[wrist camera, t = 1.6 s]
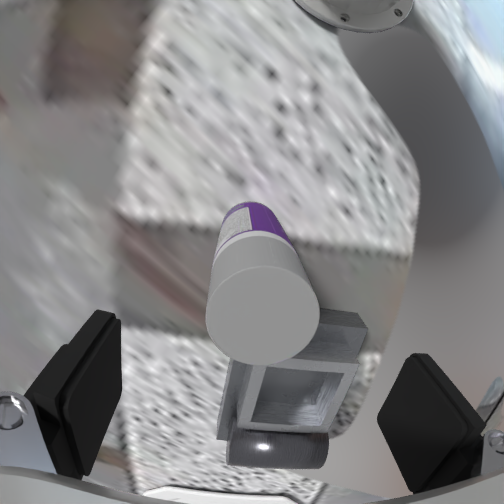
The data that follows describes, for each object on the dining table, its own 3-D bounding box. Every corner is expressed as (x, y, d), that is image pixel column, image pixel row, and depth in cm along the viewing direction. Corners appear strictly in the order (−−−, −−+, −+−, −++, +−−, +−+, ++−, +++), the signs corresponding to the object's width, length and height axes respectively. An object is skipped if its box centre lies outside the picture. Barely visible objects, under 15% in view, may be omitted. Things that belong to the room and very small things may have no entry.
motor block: (242, 296, 28) (244, 347, 21) (357, 313, 29) (389, 361, 22) (217, 420, 33) (214, 475, 25) (310, 427, 34) (322, 479, 26)
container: (290, 232, 27) (345, 322, 12) (247, 267, 28) (256, 385, 13) (253, 189, 26) (271, 236, 11) (209, 227, 26) (177, 315, 12)
